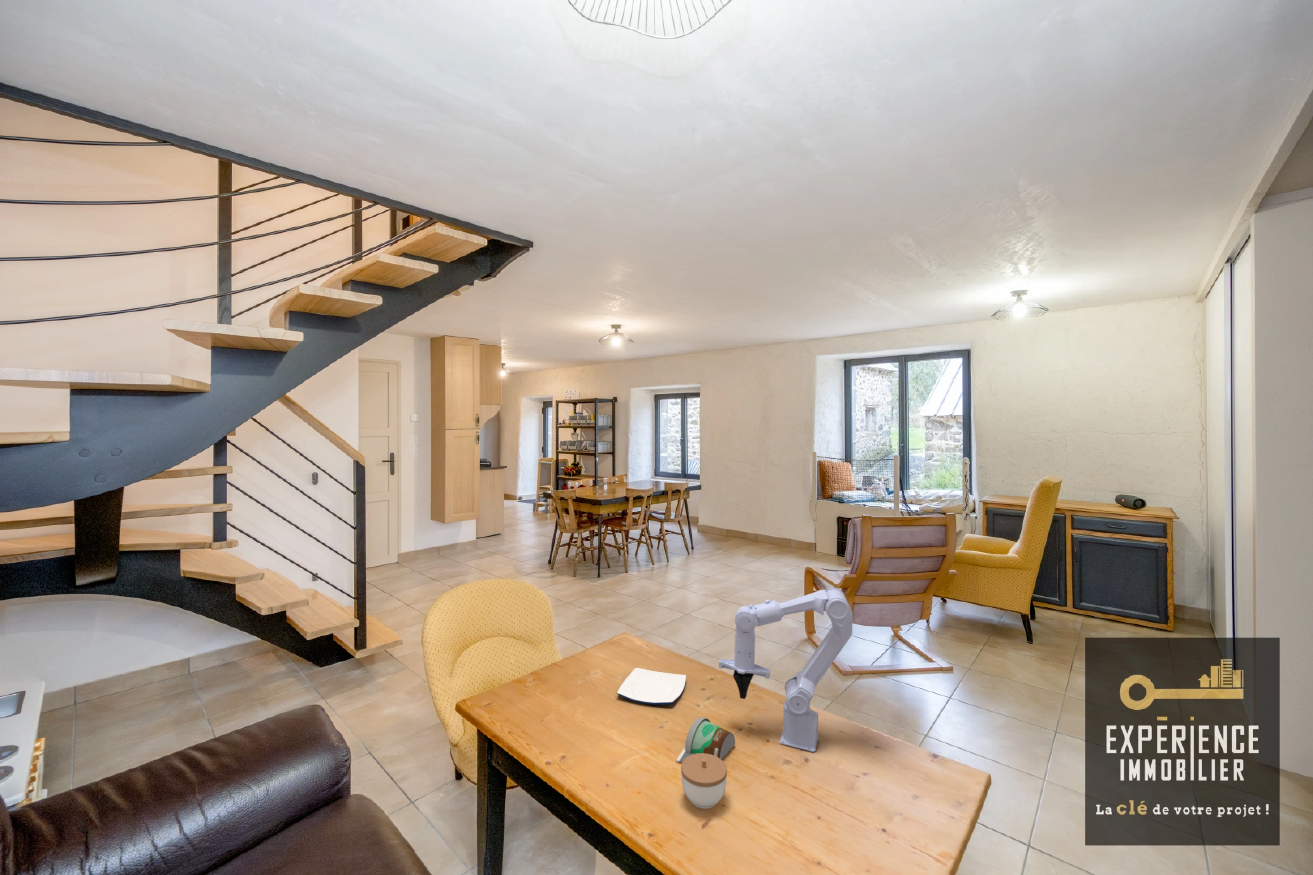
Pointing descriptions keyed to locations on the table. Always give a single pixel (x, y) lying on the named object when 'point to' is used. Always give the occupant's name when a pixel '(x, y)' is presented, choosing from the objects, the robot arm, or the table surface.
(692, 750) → the food container
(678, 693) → the plate
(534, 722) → the table surface
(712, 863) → the table surface
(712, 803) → the lidded jar
